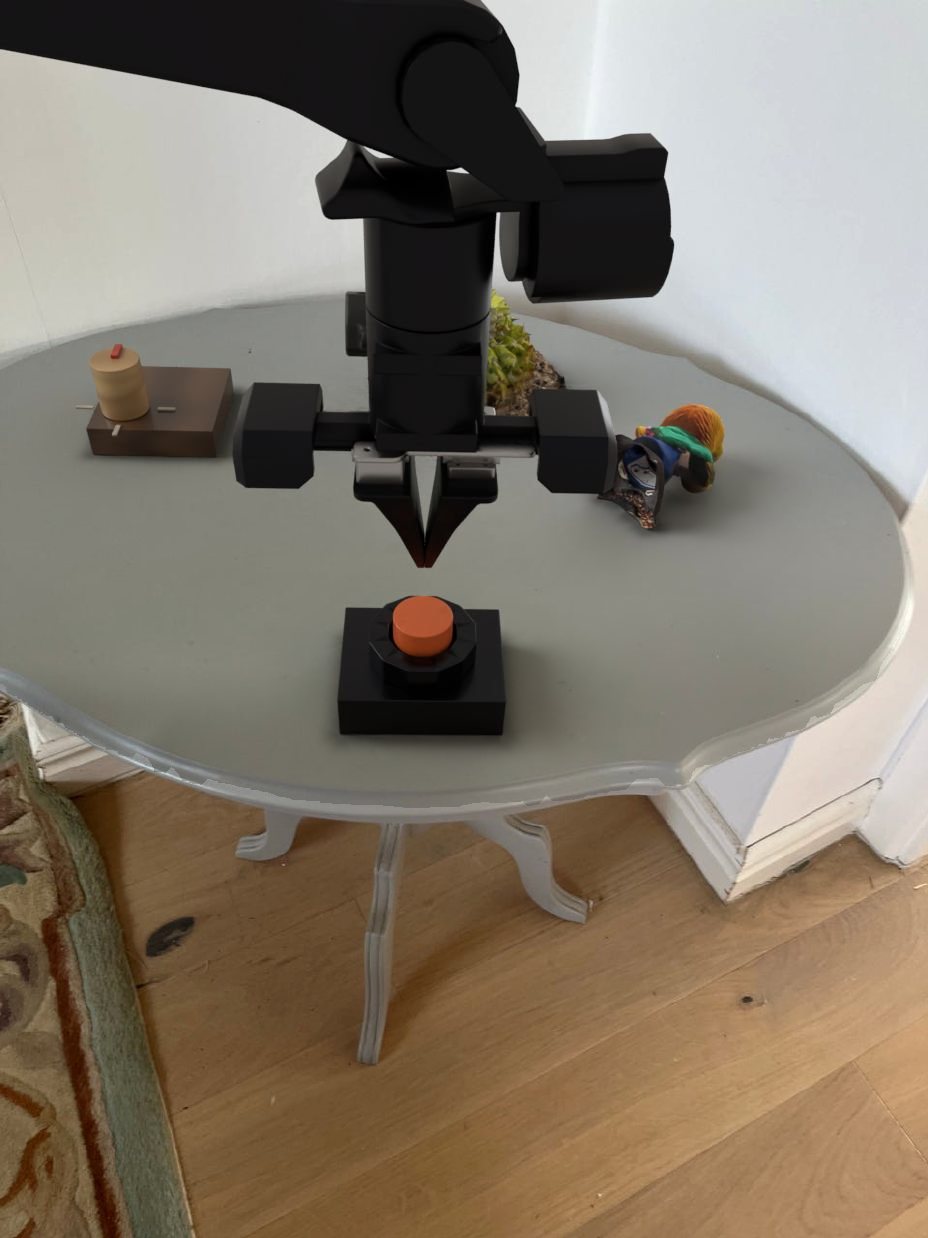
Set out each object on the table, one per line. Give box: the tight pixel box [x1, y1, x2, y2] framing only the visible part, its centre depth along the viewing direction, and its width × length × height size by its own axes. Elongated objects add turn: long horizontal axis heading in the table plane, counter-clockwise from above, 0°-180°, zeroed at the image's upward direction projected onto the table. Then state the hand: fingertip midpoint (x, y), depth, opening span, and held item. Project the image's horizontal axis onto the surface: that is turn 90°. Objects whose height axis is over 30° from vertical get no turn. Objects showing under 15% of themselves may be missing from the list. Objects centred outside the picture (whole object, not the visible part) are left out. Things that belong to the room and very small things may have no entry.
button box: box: [336, 595, 507, 737], centre depth 60 cm, size 10×8×5 cm
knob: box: [88, 343, 150, 421], centre depth 77 cm, size 4×4×5 cm
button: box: [393, 595, 453, 657], centre depth 58 cm, size 4×4×2 cm
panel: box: [75, 365, 235, 458], centre depth 81 cm, size 12×11×3 cm
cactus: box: [485, 288, 567, 416], centre depth 84 cm, size 17×16×10 cm
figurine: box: [596, 403, 726, 530], centre depth 76 cm, size 11×8×6 cm, turn 122°
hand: (424, 563), depth 55 cm, fingers closed
